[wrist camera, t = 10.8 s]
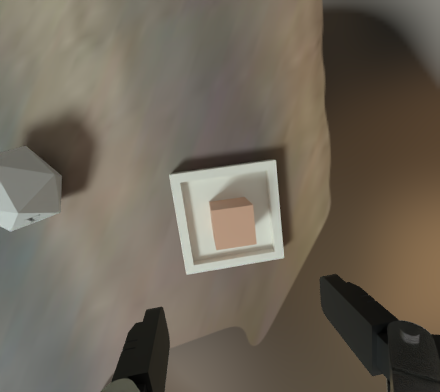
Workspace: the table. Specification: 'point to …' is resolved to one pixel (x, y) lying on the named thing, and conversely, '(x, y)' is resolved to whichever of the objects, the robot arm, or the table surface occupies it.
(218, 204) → the cube
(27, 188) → the die
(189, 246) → the tray
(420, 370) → the robot arm
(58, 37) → the table surface
